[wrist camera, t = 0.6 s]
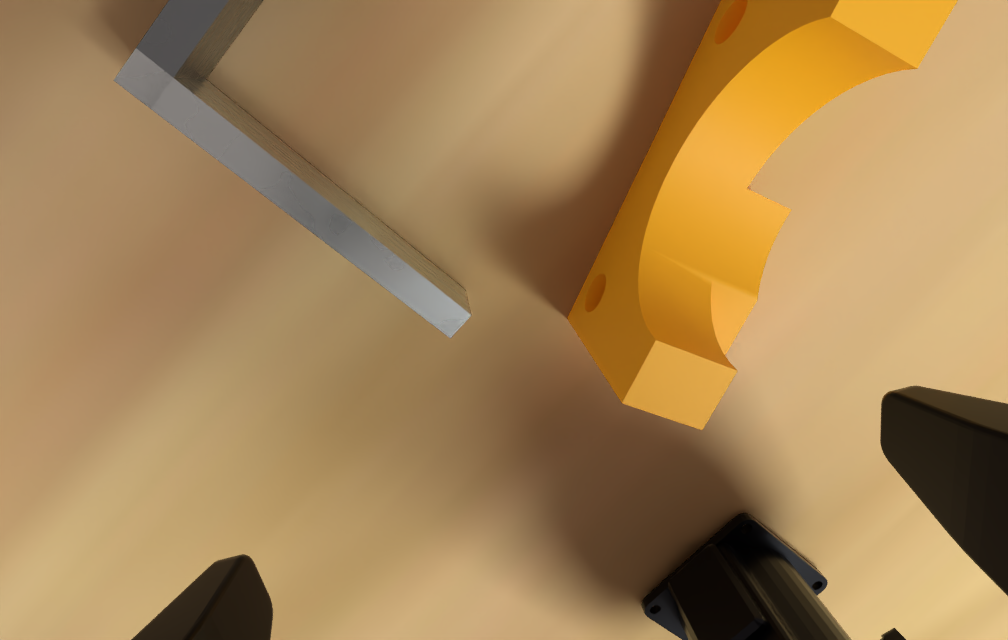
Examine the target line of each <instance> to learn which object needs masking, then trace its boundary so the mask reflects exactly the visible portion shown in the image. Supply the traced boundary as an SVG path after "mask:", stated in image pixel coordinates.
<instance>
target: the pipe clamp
mask: <svg viewBox="0 0 1008 640" xmlns="http://www.w3.org/2000/svg"><path fill="white" fill-rule="evenodd" d="M957 1H958V0H721V1H720V3H719V6H718V8H717V10H716V12H715V14H714V16H713V18H712V20H711V22H710V24H709V26H708V28H707V30H706V32H705V34H704V36H703V39H702V41H701V43H700V45H699V47H698V49H697V51H696V53H695V55H694V57H693V59H692V61H691V63H690V65H689V67H688V70H687V72H686V74H685V76H684V78H683V80H682V82H681V84H680V86H679V88H678V90H677V92H676V94H675V96H674V98H673V101H672V103H671V105H670V107H669V109H668V111H667V113H666V115H665V117H664V119H663V121H662V123H661V125H660V127H659V129H658V132H657V134H656V136H655V138H654V140H653V142H652V144H651V146H650V148H649V150H648V152H647V154H646V156H645V158H644V160H643V163H642V165H641V167H640V169H639V171H638V173H637V175H636V177H635V179H634V181H633V183H632V185H631V187H630V189H629V191H628V194H627V196H626V198H625V200H624V202H623V204H622V206H621V208H620V210H619V212H618V214H617V216H616V218H615V220H614V222H613V225H612V227H611V229H610V231H609V233H608V235H607V237H606V239H605V241H604V243H603V245H602V247H601V249H600V251H599V253H598V255H597V258H596V260H595V262H594V264H593V266H592V268H591V270H590V272H589V274H588V276H587V278H586V280H585V282H584V284H583V286H582V289H581V291H580V293H579V295H578V297H577V299H576V301H575V303H574V305H573V307H572V309H571V311H570V313H569V315H568V317H567V319H568V321H569V322H570V324H571V325H572V327H573V328H574V330H575V331H576V333H577V335H578V336H579V338H580V339H581V341H582V342H583V344H584V345H585V347H586V348H587V350H588V352H589V353H590V355H591V356H592V358H593V359H594V361H595V362H596V364H597V365H598V367H599V369H600V370H601V372H602V373H603V375H604V376H605V378H606V379H607V381H608V382H609V384H610V386H611V387H612V389H613V390H614V392H615V393H616V395H617V396H618V398H619V399H620V401H621V403H623V404H626V405H628V406H631V407H634V408H637V409H640V410H643V411H646V412H649V413H652V414H655V415H658V416H661V417H664V418H667V419H670V420H673V421H676V422H679V423H682V424H685V425H688V426H691V427H694V428H697V429H700V430H703V428H704V427H705V425H706V423H707V421H708V420H709V418H710V416H711V415H712V413H713V411H714V410H715V408H716V406H717V405H718V403H719V401H720V400H721V398H722V396H723V395H724V393H725V391H726V390H727V388H728V386H729V384H730V383H731V381H732V379H733V378H734V376H735V374H736V373H737V370H736V369H735V368H734V366H733V365H732V364H731V363H730V362H729V361H728V359H727V358H726V356H725V355H726V353H727V351H728V350H729V348H730V346H731V344H732V343H733V341H734V339H735V338H736V336H737V334H738V332H739V331H740V329H741V327H742V326H743V324H744V322H745V320H746V319H747V317H748V315H749V314H750V312H751V310H752V308H753V307H754V305H755V303H756V302H757V299H758V292H759V286H760V281H761V277H762V273H763V269H764V266H765V263H766V260H767V257H768V255H769V252H770V250H771V247H772V245H773V242H774V240H775V238H776V236H777V234H778V232H779V230H780V228H781V227H782V225H783V223H784V221H785V220H786V218H787V216H788V215H789V213H790V212H791V209H789V208H787V207H784V206H782V205H780V204H778V203H776V202H774V201H772V200H770V199H768V198H766V197H763V196H761V195H759V194H757V193H755V192H753V191H751V190H749V189H747V188H748V186H749V185H750V183H751V181H752V180H753V179H754V177H755V176H756V174H757V173H758V171H759V170H760V169H761V167H762V166H763V165H764V163H765V162H766V161H767V159H768V158H769V157H770V156H771V155H772V153H773V152H774V151H775V150H776V149H777V148H778V146H779V145H780V144H781V143H782V142H783V141H784V140H785V139H786V138H787V137H788V136H789V135H790V134H791V133H792V132H793V131H794V130H795V129H796V128H797V127H798V126H799V125H800V124H801V123H802V122H804V121H805V120H806V119H807V118H808V117H810V116H811V115H812V114H813V113H814V112H816V111H817V110H818V109H820V108H821V107H822V106H824V105H825V104H826V103H828V102H829V101H831V100H832V99H834V98H835V97H837V96H839V95H840V94H842V93H843V92H845V91H847V90H849V89H851V88H853V87H855V86H856V85H859V84H861V83H863V82H865V81H868V80H870V79H872V78H875V77H878V76H881V75H884V74H887V73H892V72H896V71H901V70H909V69H917V68H918V66H919V65H920V63H921V61H922V60H923V58H924V56H925V55H926V53H927V51H928V50H929V48H930V46H931V44H932V43H933V41H934V39H935V38H936V36H937V34H938V33H939V31H940V29H941V28H942V26H943V24H944V23H945V21H946V19H947V18H948V16H949V14H950V13H951V11H952V9H953V7H954V6H955V4H956V2H957Z"/></svg>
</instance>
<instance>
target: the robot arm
mask: <svg viewBox="0 0 1008 640" xmlns="http://www.w3.org/2000/svg"><path fill="white" fill-rule="evenodd" d="M880 441H881V447H882V450H883V453H884V455H885V456H886V458H887V460H888V461H889V462H890V463H891V465H892V466H893V467H894V468H895V469H896V471H897V472H898V473H899V474H900V476H901V477H902V478H903V479H904V480H905V482H906V483H907V484H908V485H909V486H910V488H911V489H912V490H913V491H914V492H915V494H916V495H917V496H918V497H919V498H920V500H921V501H922V502H923V503H924V504H925V506H926V507H927V508H928V509H929V511H930V512H931V513H932V514H933V515H934V517H935V518H936V519H937V520H938V521H939V523H940V524H941V525H942V526H943V527H944V529H945V530H946V531H947V532H948V533H949V535H950V536H951V537H952V538H953V539H954V540H955V542H956V543H957V544H958V545H959V546H960V547H961V548H962V549H963V551H964V552H965V553H966V554H967V555H968V556H969V557H970V558H971V559H972V560H973V561H974V562H975V563H976V564H977V565H978V566H979V567H980V568H981V569H982V570H983V571H984V572H985V573H986V574H987V575H988V576H989V577H990V578H991V579H992V580H993V581H994V582H995V583H996V584H997V585H998V586H999V587H1000V588H1001V589H1002V590H1003V591H1004V592H1005V593H1006V594H1007V595H1008V404H1006V403H1001V402H996V401H991V400H986V399H981V398H976V397H971V396H966V395H961V394H956V393H951V392H946V391H941V390H936V389H931V388H926V387H921V386H910V387H906V388H902V389H898V390H894V391H890V392H888V393H886V394H885V395H884V397H883V399H882V404H881V439H880ZM744 525H746V526H744ZM743 526H744V527H743ZM826 586H827V580H826V578H825V577H824V576H823V575H822V574H821V572H820V571H818V570H817V569H816V568H815V567H813V566H812V565H811V564H810V563H809V562H807V561H806V560H805V559H804V558H802V557H801V556H800V555H799V554H798V553H796V552H795V551H794V550H793V549H791V548H790V547H789V546H788V545H787V544H785V543H784V542H783V541H782V540H780V539H779V538H778V537H777V536H776V535H774V534H773V533H772V532H771V531H769V530H768V529H767V528H766V527H765V526H763V525H762V524H761V523H760V522H758V521H757V520H756V519H755V518H754V517H752V516H751V515H749V514H746V513H743V514H739V515H738V516H736V517H735V518H734V519H733V520H731V521H730V522H729V523H728V524H727V525H726V526H725V527H724V528H722V529H721V530H720V531H719V532H718V533H717V534H716V535H715V536H713V537H712V538H711V539H710V540H709V541H708V542H707V543H706V544H704V545H703V546H702V547H701V548H700V549H699V550H698V551H697V552H696V553H694V554H693V555H692V556H691V557H690V558H689V559H688V560H687V561H685V562H684V563H683V564H682V565H681V566H680V567H679V568H678V569H676V570H675V571H674V572H673V573H672V574H671V575H670V576H669V577H667V578H666V579H665V580H664V581H663V582H662V583H661V584H660V585H658V586H657V587H656V588H655V589H654V590H653V591H652V592H651V593H650V594H648V595H647V596H646V597H645V598H644V599H643V601H642V604H641V605H642V608H643V611H644V613H645V615H646V616H647V617H649V618H650V619H652V620H653V621H655V622H656V623H658V624H659V625H661V626H662V627H664V628H665V629H667V630H668V631H670V632H671V633H673V634H675V635H676V636H678V637H679V638H681V639H682V640H851V639H850V637H849V636H848V635H847V633H846V632H845V631H844V630H843V628H842V627H841V626H840V625H839V623H838V622H837V621H836V619H835V618H834V617H833V616H832V614H831V613H830V612H829V611H828V609H827V608H826V607H825V606H824V604H823V603H822V602H821V600H820V599H819V598H818V597H817V595H818V594H819V593H821V592H822V591H823V590H824V589H825V588H826ZM272 620H273V608H272V602H271V599H270V596H269V594H268V592H267V590H266V588H265V585H264V583H263V581H262V579H261V577H260V575H259V572H258V570H257V568H256V566H255V564H254V562H253V560H252V559H251V558H250V557H249V556H247V555H244V554H242V555H238V556H234V557H230V558H226V559H222V560H218V561H216V562H214V563H213V564H212V565H211V566H210V567H209V568H208V569H207V570H206V571H204V572H203V573H202V574H201V575H200V576H199V577H198V578H197V579H196V580H195V581H194V582H193V583H192V584H191V585H189V586H188V587H187V588H186V589H185V590H184V591H183V592H182V593H181V594H180V595H179V596H178V597H177V598H176V599H174V600H173V601H172V602H171V603H170V604H169V605H168V606H167V607H166V608H165V609H164V610H163V611H162V612H161V613H159V614H158V615H157V616H156V617H155V618H154V619H153V620H152V621H151V622H150V623H149V624H148V625H147V626H146V627H144V628H143V629H142V630H141V631H140V632H139V633H138V634H137V635H136V636H135V637H134V638H133V639H132V640H270V638H271V629H272ZM881 636H882V639H880V640H906V639H905V638H904V637H903V636H902V635H901V634H900V633H899V632H898V631H897V630H896V629H895V628H893V629H891V630H890V631H888V632H886V633H885V634H883V635H881Z"/></svg>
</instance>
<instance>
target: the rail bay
mask: <svg viewBox="0 0 1008 640" xmlns="http://www.w3.org/2000/svg"><path fill="white" fill-rule="evenodd" d="M262 1H263V0H169V1H168V3H167V4H166V5H165V7H164V8H163V10H162V11H161V13H160V14H159V16H158V17H157V18H156V20H155V21H154V23H153V24H152V26H151V27H150V29H149V30H148V31H147V33H146V34H145V36H144V37H143V39H142V40H141V42H140V43H139V44H138V46H137V47H136V49H135V50H134V52H133V53H132V55H131V56H130V57H129V59H128V60H127V62H126V63H125V65H124V66H123V68H122V69H121V70H120V72H119V73H118V75H117V76H116V78H115V79H114V81H115V82H116V83H118V84H119V85H120V86H122V87H123V88H124V89H125V90H127V91H128V92H129V93H131V94H132V95H133V96H135V97H136V98H137V99H139V100H140V101H141V102H142V103H144V104H145V105H146V106H148V107H149V108H150V109H152V110H153V111H154V112H156V113H157V114H158V115H159V116H161V117H162V118H163V119H165V120H166V121H167V122H169V123H170V124H171V125H172V126H174V127H175V128H176V129H178V130H179V131H180V132H182V133H183V134H184V135H186V136H187V137H188V138H189V139H191V140H192V141H193V142H195V143H196V144H197V145H199V146H200V147H201V148H202V149H204V150H205V151H206V152H208V153H209V154H210V155H212V156H213V157H214V158H216V159H217V160H218V161H219V162H221V163H222V164H223V165H225V166H226V167H227V168H229V169H230V170H231V171H233V172H234V173H235V174H236V175H238V176H239V177H240V178H242V179H243V180H244V181H246V182H247V183H248V184H249V185H251V186H252V187H253V188H255V189H256V190H257V191H259V192H260V193H261V194H263V195H264V196H265V197H266V198H268V199H269V200H270V201H272V202H273V203H274V204H276V205H277V206H278V207H280V208H281V209H282V210H283V211H285V212H286V213H287V214H289V215H290V216H291V217H293V218H294V219H295V220H296V221H298V222H299V223H300V224H302V225H303V226H304V227H306V228H307V229H308V230H310V231H311V232H312V233H313V234H315V235H316V236H317V237H319V238H320V239H321V240H323V241H324V242H325V243H326V244H328V245H329V246H330V247H332V248H333V249H334V250H336V251H337V252H338V253H340V254H341V255H342V256H343V257H345V258H346V259H347V260H349V261H350V262H351V263H353V264H354V265H355V266H357V267H358V268H359V269H360V270H362V271H363V272H364V273H366V274H367V275H368V276H370V277H371V278H372V279H373V280H375V281H376V282H377V283H379V284H380V285H381V286H383V287H384V288H385V289H387V290H388V291H389V292H390V293H392V294H393V295H394V296H396V297H397V298H398V299H400V300H401V301H402V302H404V303H405V304H406V305H407V306H409V307H410V308H411V309H413V310H414V311H415V312H417V313H418V314H419V315H420V316H422V317H423V318H424V319H426V320H427V321H428V322H430V323H431V324H432V325H434V326H435V327H436V328H437V329H439V330H440V331H441V332H443V333H444V334H445V335H447V336H448V337H449V338H451V337H452V336H453V335H454V334H455V333H456V332H457V330H458V329H459V328H460V327H461V326H462V325H463V324H464V323H465V322H466V321H467V320H468V318H469V317H470V316H471V311H470V307H469V303H468V298H467V294H466V290H465V289H464V288H463V287H461V286H460V285H459V284H458V283H456V282H455V281H454V280H453V279H452V278H450V277H449V276H448V275H447V274H445V273H444V272H443V271H442V270H440V269H439V268H438V267H437V266H436V265H434V264H433V263H432V262H431V261H429V260H428V259H427V258H426V257H424V256H423V255H422V254H421V253H419V252H418V251H417V250H416V249H415V248H413V247H412V246H411V245H410V244H408V243H407V242H406V241H405V240H403V239H402V238H401V237H400V236H399V235H397V234H396V233H395V232H394V231H392V230H391V229H390V228H389V227H387V226H386V225H385V224H384V223H383V222H381V221H380V220H379V219H378V218H376V217H375V216H374V215H373V214H371V213H370V212H369V211H368V210H366V209H365V208H364V207H363V206H362V205H360V204H359V203H358V202H357V201H355V200H354V199H353V198H352V197H350V196H349V195H348V194H347V193H346V192H344V191H343V190H342V189H341V188H339V187H338V186H337V185H336V184H334V183H333V182H332V181H331V180H330V179H328V178H327V177H326V176H325V175H323V174H322V173H321V172H320V171H318V170H317V169H316V168H315V167H314V166H312V165H311V164H310V163H309V162H307V161H306V160H305V159H304V158H302V157H301V156H300V155H299V154H297V153H296V152H295V151H294V150H293V149H291V148H290V147H289V146H288V145H286V144H285V143H284V142H283V141H281V140H280V139H279V138H278V137H277V136H275V135H274V134H273V133H272V132H270V131H269V130H268V129H267V128H265V127H264V126H263V125H262V124H261V123H259V122H258V121H257V120H256V119H254V118H253V117H252V116H251V115H249V114H248V113H247V112H246V111H244V110H243V109H242V108H241V107H240V106H238V105H237V104H236V103H235V102H233V101H232V100H231V99H230V98H228V97H227V96H226V95H225V94H224V93H222V92H221V91H220V90H219V89H217V88H216V87H215V86H214V85H212V84H211V83H210V82H209V81H208V80H206V78H207V77H208V76H209V74H210V73H211V71H212V70H213V69H214V67H215V66H216V65H217V63H218V62H219V60H220V59H221V58H222V56H223V55H224V54H225V52H226V51H227V50H228V48H229V47H230V45H231V44H232V43H233V41H234V40H235V39H236V37H237V36H238V34H239V33H240V32H241V30H242V29H243V28H244V26H245V25H246V23H247V22H248V21H249V19H250V18H251V17H252V15H253V14H254V12H255V11H256V10H257V8H258V7H259V6H260V4H261V3H262Z"/></svg>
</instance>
